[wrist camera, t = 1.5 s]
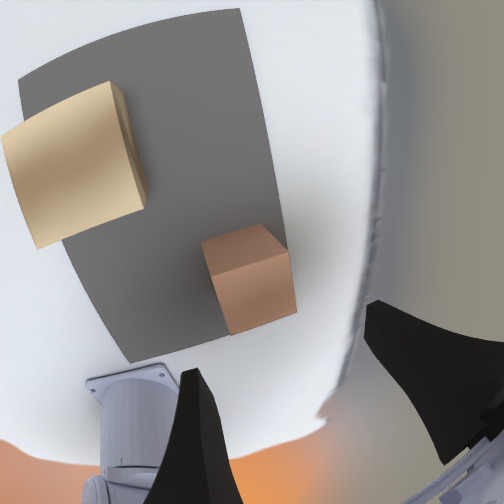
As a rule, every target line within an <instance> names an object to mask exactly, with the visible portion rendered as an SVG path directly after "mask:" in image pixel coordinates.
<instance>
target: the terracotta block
mask: <svg viewBox="0 0 504 504" xmlns="http://www.w3.org/2000/svg"><path fill="white" fill-rule="evenodd" d="M200 244H201V247H202V250H203V253H204V257H205V260H206V263H207V266H208V269H209V273H210V276H211V279H212V282H213V285H214V288H215V291H216V294H217V297H218V300H219V303H220V306H221V309H222V312H223V315H224V318H225V321H226V323H227V326H228V329H229V332H230V335H231V336H232V335H235V334H238V333H241V332H244V331H247V330H250V329H252V328H255V327H258V326H261V325H264V324H267V323H269V322H272V321H275V320H278V319H280V318H283V317H286V316H289V315H291V314H294V313H296V312H297V307H296V300H295V293H294V285H293V278H292V271H291V264H290V258H289V252H288V251H287V250H286V249H285V248H284V247H283V246H282V244H281V243H280V242H279V241H278V240H277V239H276V238H275V237H274V236H273V235H272V234H271V233H270V232H269V231H268V230H267V229H266V228H265V227H264V226H263V225H262V224H261V223H260V224H257V225H253V226H250V227H247V228H243V229H240V230H237V231H234V232H230V233H227V234H224V235H220V236H217V237H214V238H211V239H207V240H204V241H201V242H200Z"/></svg>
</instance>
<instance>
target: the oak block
mask: <svg viewBox="0 0 504 504" xmlns="http://www.w3.org/2000/svg"><path fill="white" fill-rule="evenodd" d="M1 141H2V146H3V150H4V154H5V158H6V162H7V166H8V170H9V173H10V177H11V180H12V184H13V187H14V190H15V193H16V196H17V199H18V202H19V205H20V208H21V210H22V213H23V216H24V218H25V221H26V224H27V226H28V229H29V231H30V234H31V236H32V238H33V241H34V243H35V245H36V248H37V250H38V249H41V248H43V247H45V246H48V245H50V244H52V243H55V242H57V241H59V240H62V239H64V238H67V237H69V236H72V235H74V234H77V233H79V232H82V231H84V230H87V229H89V228H92V227H94V226H97V225H100V224H102V223H105V222H108V221H110V220H113V219H116V218H119V217H122V216H124V215H127V214H130V213H133V212H136V211H139V210H142V209H144V206H145V203H146V199H147V196H148V193H149V188H148V185H147V182H146V178H145V175H144V171H143V168H142V164H141V161H140V157H139V154H138V150H137V146H136V143H135V139H134V135H133V131H132V127H131V123H130V119H129V115H128V110H127V106H126V102H125V97H124V93H123V92H122V91H121V90H120V89H119V88H117V87H116V86H115V85H114V84H113V83H112V82H110V81H108V82H105V83H102V84H100V85H97V86H95V87H92V88H90V89H88V90H85V91H83V92H81V93H78V94H76V95H74V96H72V97H70V98H67V99H65V100H63V101H61V102H59V103H57V104H55V105H53V106H51V107H49V108H47V109H45V110H44V111H42V112H40V113H38V114H36V115H34V116H33V117H31V118H29V119H27V120H26V121H24V122H22V123H21V124H19V125H17V126H16V127H14V128H13V129H11V130H10V131H8V132H6V133H5V134H3V135H2V136H1Z"/></svg>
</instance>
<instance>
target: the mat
mask: <svg viewBox="0 0 504 504" xmlns="http://www.w3.org/2000/svg"><path fill="white" fill-rule="evenodd" d="M108 81H110V82H112V83H113V84H114V85H115V86H116V87H117V88H119V89H120V90H121V91H122V92H123V93H124V97H125V102H126V106H127V110H128V115H129V119H130V123H131V127H132V131H133V135H134V139H135V143H136V146H137V150H138V154H139V157H140V161H141V164H142V168H143V171H144V175H145V178H146V182H147V185H148V188H149V193H148V196H147V199H146V203H145V206H144V209H142V210H139V211H136V212H133V213H130V214H127V215H124V216H122V217H119V218H116V219H113V220H110V221H108V222H105V223H102V224H100V225H97V226H94V227H92V228H89V229H87V230H84V231H82V232H79V233H77V234H74V235H72V236H69V237H67V238H64V239H62V243H63V245H64V247H65V249H66V252H67V254H68V256H69V258H70V260H71V263H72V265H73V267H74V269H75V271H76V273H77V275H78V277H79V279H80V281H81V283H82V285H83V287H84V289H85V291H86V292H87V294H88V296H89V298H90V300H91V302H92V304H93V305H94V307H95V309H96V311H97V312H98V314H99V316H100V318H101V319H102V321H103V323H104V324H105V326H106V328H107V329H108V331H109V332H110V334H111V336H112V337H113V339H114V340H115V342H116V344H117V345H118V347H119V348H120V350H121V351H122V353H123V354H124V356H125V357H126V359H127V360H128V361H129V363H130V364H131V363H134V362H138V361H142V360H146V359H150V358H154V357H157V356H161V355H165V354H168V353H172V352H175V351H179V350H182V349H186V348H189V347H192V346H196V345H199V344H202V343H205V342H209V341H212V340H215V339H218V338H221V337H224V336H227V335H230V332H229V329H228V326H227V323H226V321H225V318H224V315H223V312H222V309H221V306H220V303H219V300H218V297H217V294H216V291H215V288H214V285H213V282H212V279H211V276H210V273H209V269H208V266H207V263H206V260H205V257H204V253H203V250H202V247H201V244H200V242H201V241H204V240H207V239H211V238H214V237H217V236H220V235H224V234H227V233H230V232H234V231H237V230H240V229H243V228H247V227H250V226H253V225H257V224H260V223H261V224H262V225H263V226H264V227H265V228H266V229H267V230H268V231H269V232H270V233H271V234H272V235H273V236H274V237H275V238H276V239H277V240H278V241H279V242H280V243H281V244H282V246H283V247H284V248H285V249H286V250H287V251H288V249H287V243H286V236H285V230H284V224H283V218H282V212H281V206H280V200H279V194H278V188H277V183H276V177H275V172H274V166H273V161H272V155H271V150H270V145H269V139H268V134H267V129H266V124H265V119H264V114H263V109H262V104H261V100H260V95H259V90H258V85H257V81H256V76H255V72H254V67H253V63H252V58H251V54H250V49H249V45H248V41H247V37H246V32H245V28H244V24H243V20H242V16H241V12H240V8H236V9H225V10H216V11H209V12H202V13H196V14H190V15H184V16H179V17H174V18H170V19H165V20H161V21H157V22H153V23H149V24H145V25H142V26H138V27H135V28H131V29H128V30H125V31H122V32H119V33H116V34H113V35H110V36H107V37H105V38H102V39H99V40H97V41H94V42H92V43H89V44H87V45H84V46H82V47H80V48H77V49H75V50H73V51H71V52H69V53H66V54H64V55H62V56H60V57H58V58H56V59H54V60H52V61H50V62H48V63H46V64H45V65H43V66H41V67H39V68H37V69H36V70H34V71H32V72H30V73H29V74H27V75H25V76H24V77H22V78H20V79H19V80H18V84H19V92H20V99H21V105H22V111H23V117H24V121H26V120H27V119H29V118H31V117H33V116H34V115H36V114H38V113H40V112H42V111H44V110H45V109H47V108H49V107H51V106H53V105H55V104H57V103H59V102H61V101H63V100H65V99H67V98H70V97H72V96H74V95H76V94H78V93H81V92H83V91H85V90H88V89H90V88H92V87H95V86H97V85H100V84H102V83H105V82H108Z"/></svg>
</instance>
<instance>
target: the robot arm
mask: <svg viewBox="0 0 504 504" xmlns="http://www.w3.org/2000/svg"><path fill="white" fill-rule="evenodd" d="M364 339H365V341H366V343H367V344H368V346H369V347H370V349H371V351H372V352H373V354H374V355H375V357H376V358H377V359H378V360H379V362H380V363H381V364H382V365H383V366H384V367H385V369H386V370H387V371H388V372H389V374H390V375H391V376H392V377H393V378H394V379H395V381H396V382H397V383H398V384H399V386H401V388H402V389H403V390H404V392H405V393H406V394H407V396H408V397H409V399H410V400H411V402H412V404H413V405H414V407H415V408H416V410H417V412H418V414H419V416H420V417H421V419H422V421H423V423H424V424H425V427H426V428H427V431H428V433H429V435H430V437H431V439H432V441H433V443H434V446H435V448H436V451H437V453H438V456H439V459H440V460H441V462H442V463H443V464H444V465H446V464H447V463H449V462H450V461H451V460H452V459H453V458H455V457H456V456H457V455H458V454H459V453H460V452H461V451H463V450H464V449H465V448H466V447H467V446H468V448H469V449H470V451H469V452H468V453H467V454H465V455H464V456H463V457H462V458H461V459H460V460H459V461H457V462H456V463H455V464H454V465H453V466H452V467H450V468H449V469H448V470H447V471H446V472H444V473H443V474H442V475H440V476H439V477H438V478H436V479H435V480H434V481H432V482H431V483H430V484H428V485H427V486H426V487H424V488H423V489H421V490H420V491H419V492H417V493H416V494H414V495H413V496H411V497H410V498H408V499H406V500H405V501H403V502H402V503H400V504H425V503H426V502H427V501H429V500H430V499H432V498H433V497H434V496H436V495H437V494H438V493H440V492H441V491H442V490H444V489H445V488H446V487H447V486H449V485H450V484H451V483H452V482H454V481H455V480H456V479H457V478H458V477H459V476H461V475H462V474H463V473H464V472H465V471H466V470H467V474H466V475H465V476H464V477H462V478H461V479H459V480H458V481H457V482H455V483H454V484H453V485H451V486H450V487H449V488H448V489H447V490H446V491H445V492H443V493H442V494H441V495H440V496H439V500H440V501H441V502H440V503H438V504H504V342H496V341H488V340H483V339H478V338H473V337H468V336H464V335H461V334H458V333H454V332H451V331H448V330H445V329H442V328H440V327H437V326H435V325H432V324H430V323H427V322H425V321H423V320H421V319H418V318H416V317H414V316H412V315H410V314H408V313H405V312H403V311H401V310H399V309H397V308H395V307H393V306H391V305H389V304H387V303H384V302H382V301H380V300H377V301H374V302H372V303H370V304H368V305H367V309H366V321H365V332H364ZM161 373H163V374H161ZM85 387H86V388H87V389H88V390H89V392H90V393H91V394H92V395H93V396H94V397H95V398H96V399H97V400H98V401H99V402H100V403H101V405H102V422H101V451H100V466H101V474H100V476H99V475H92V476H91V477H90V478H88V479H87V480H85V482H84V486H83V493H82V504H243V501H242V499H241V496H240V494H239V491H238V488H237V486H236V483H235V480H234V477H233V474H232V471H231V468H230V465H229V460H228V455H227V450H226V445H225V440H224V435H223V430H222V425H221V420H220V416H219V413H218V409H217V406H216V403H215V400H214V396H213V394H212V393H211V391H210V389H209V387H208V386H207V384H206V382H205V380H204V378H203V377H202V375H201V373H200V371H199V369H198V368H195V369H191V370H187V371H184V372H182V374H181V379H180V387H179V388H178V386H177V385H176V383H175V382H174V380H173V379H172V377H171V376H170V374H169V373H168V371H167V369H166V368H165V366H163V365H160V364H158V365H154V366H150V367H146V368H142V369H138V370H134V371H130V372H126V373H121V374H117V375H113V376H108V377H104V378H99V379H94V380H89V381H86V382H85Z"/></svg>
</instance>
